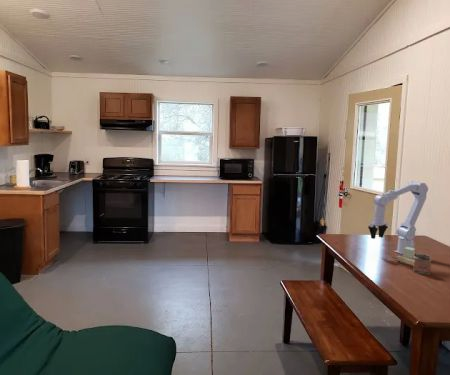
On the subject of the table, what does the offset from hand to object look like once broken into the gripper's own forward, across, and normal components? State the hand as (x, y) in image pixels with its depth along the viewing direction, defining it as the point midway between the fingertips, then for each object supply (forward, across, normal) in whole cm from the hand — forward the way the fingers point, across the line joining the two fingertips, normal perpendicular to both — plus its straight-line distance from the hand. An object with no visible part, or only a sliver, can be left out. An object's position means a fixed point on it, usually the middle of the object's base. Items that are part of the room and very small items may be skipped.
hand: (376, 237), depth 232 cm
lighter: (+10, +8, +33) cm, 36 cm away
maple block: (+10, -4, +19) cm, 22 cm away
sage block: (+7, -4, +19) cm, 20 cm away
